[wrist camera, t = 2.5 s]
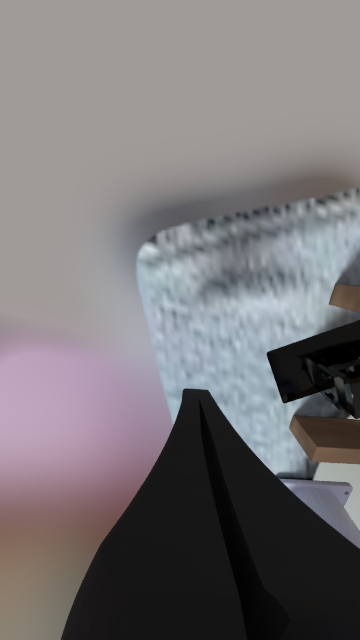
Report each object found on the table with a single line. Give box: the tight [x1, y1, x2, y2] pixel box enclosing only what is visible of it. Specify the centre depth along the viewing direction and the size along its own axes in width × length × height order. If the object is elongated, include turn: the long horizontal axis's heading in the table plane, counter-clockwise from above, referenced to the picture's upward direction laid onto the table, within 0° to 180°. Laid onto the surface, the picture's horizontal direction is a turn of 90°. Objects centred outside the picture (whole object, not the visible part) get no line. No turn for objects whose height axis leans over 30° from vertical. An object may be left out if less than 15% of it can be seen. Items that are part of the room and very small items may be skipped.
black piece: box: [267, 320, 360, 419], centre depth 14 cm, size 12×7×5 cm, turn 112°
